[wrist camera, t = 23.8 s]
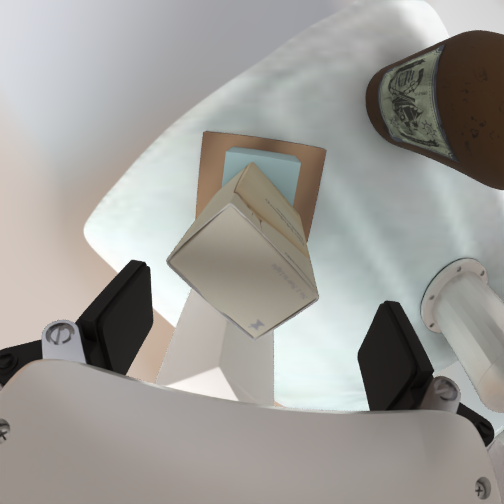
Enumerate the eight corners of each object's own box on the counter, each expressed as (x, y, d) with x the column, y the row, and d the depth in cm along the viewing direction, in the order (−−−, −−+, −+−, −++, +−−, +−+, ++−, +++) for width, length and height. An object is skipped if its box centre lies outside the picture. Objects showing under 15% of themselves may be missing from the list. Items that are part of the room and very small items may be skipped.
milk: (202, 260, 34) (134, 427, 14) (244, 234, 32) (208, 411, 12) (232, 297, 36) (200, 466, 16) (274, 274, 34) (274, 454, 14)
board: (323, 148, 27) (326, 150, 26) (305, 237, 32) (307, 243, 30) (206, 131, 27) (203, 132, 26) (198, 222, 31) (194, 226, 30)
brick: (294, 155, 26) (300, 162, 22) (281, 231, 30) (283, 252, 25) (233, 146, 26) (225, 151, 22) (223, 223, 30) (216, 242, 25)
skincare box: (300, 215, 24) (327, 300, 13) (261, 246, 25) (255, 345, 14) (250, 158, 22) (233, 197, 11) (210, 194, 23) (161, 263, 12)
